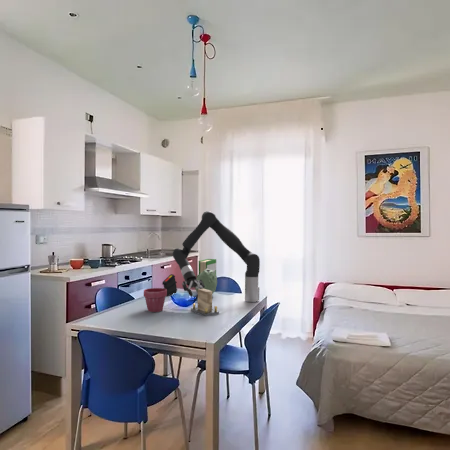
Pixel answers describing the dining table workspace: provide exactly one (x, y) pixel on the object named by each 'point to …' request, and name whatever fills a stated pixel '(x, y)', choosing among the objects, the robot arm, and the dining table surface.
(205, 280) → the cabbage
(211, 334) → the dining table surface
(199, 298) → the panel
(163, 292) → the plant pot
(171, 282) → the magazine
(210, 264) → the hardback book
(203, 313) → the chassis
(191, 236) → the robot arm
